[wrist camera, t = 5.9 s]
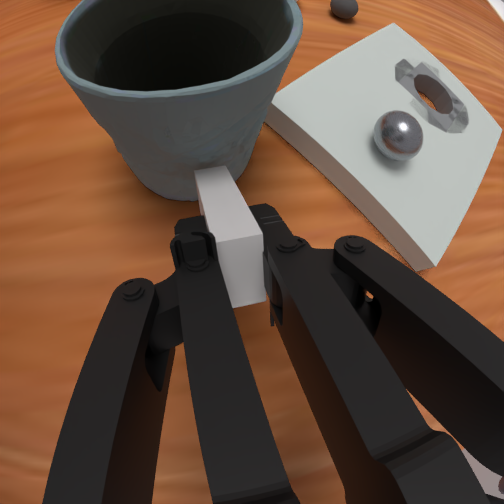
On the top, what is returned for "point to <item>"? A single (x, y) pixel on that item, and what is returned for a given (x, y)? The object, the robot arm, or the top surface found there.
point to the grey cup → (179, 80)
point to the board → (366, 152)
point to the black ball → (344, 8)
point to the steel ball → (398, 135)
